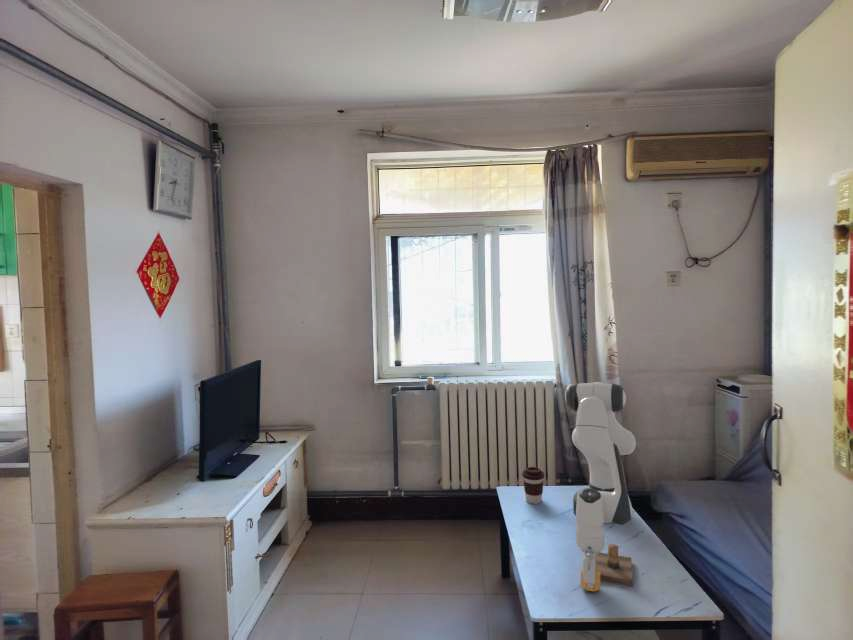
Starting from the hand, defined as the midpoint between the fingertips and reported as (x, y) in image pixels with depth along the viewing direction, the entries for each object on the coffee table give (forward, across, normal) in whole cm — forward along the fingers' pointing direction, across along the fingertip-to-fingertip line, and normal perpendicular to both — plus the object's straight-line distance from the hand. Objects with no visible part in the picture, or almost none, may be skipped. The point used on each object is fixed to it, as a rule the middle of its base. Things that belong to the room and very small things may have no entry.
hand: (590, 579), depth 158 cm
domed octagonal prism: (+2, 0, 0) cm, 2 cm away
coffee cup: (+4, +59, +28) cm, 65 cm away
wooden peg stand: (+3, +13, -7) cm, 15 cm away
